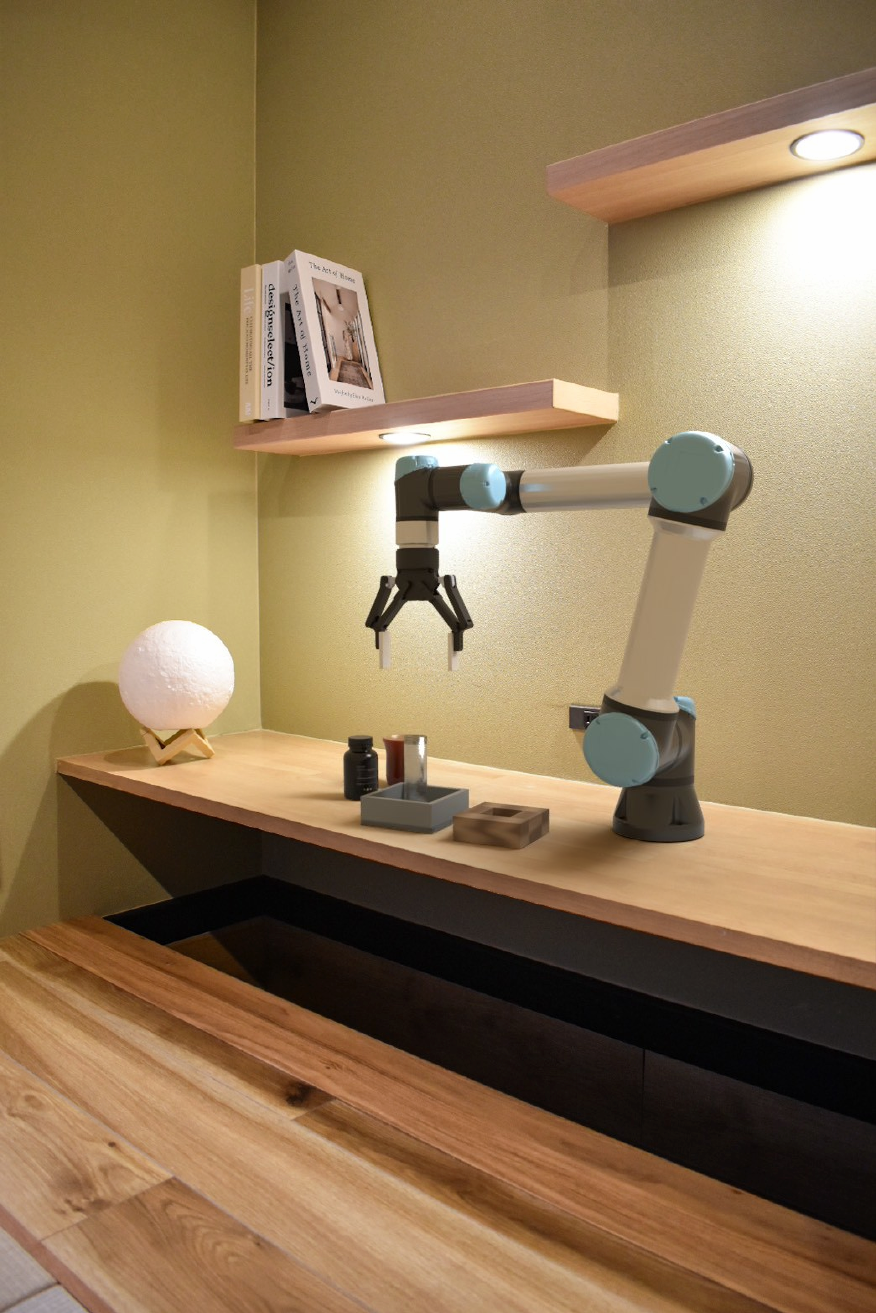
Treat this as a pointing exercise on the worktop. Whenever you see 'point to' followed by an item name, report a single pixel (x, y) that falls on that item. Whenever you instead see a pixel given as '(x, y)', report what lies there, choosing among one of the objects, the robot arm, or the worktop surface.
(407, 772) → the pin
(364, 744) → the supplement bottle
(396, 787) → the tray
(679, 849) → the worktop surface
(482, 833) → the socket block
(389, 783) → the mug
